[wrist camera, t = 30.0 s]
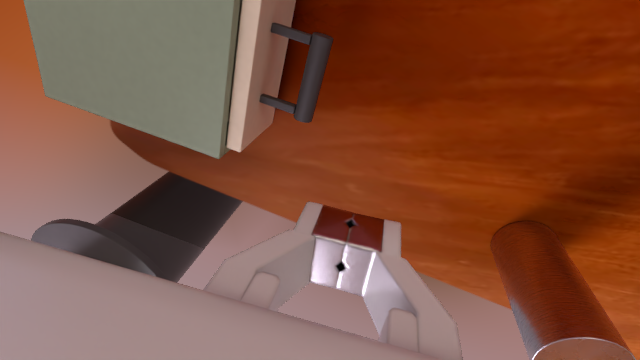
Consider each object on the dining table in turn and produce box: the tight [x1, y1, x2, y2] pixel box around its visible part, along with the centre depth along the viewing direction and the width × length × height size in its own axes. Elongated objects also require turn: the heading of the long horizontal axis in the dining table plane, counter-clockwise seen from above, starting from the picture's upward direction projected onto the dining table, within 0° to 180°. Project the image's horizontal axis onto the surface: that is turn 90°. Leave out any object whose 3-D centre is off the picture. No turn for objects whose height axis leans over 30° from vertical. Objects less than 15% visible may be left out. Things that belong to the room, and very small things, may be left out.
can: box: [491, 221, 636, 360], centre depth 25 cm, size 6×6×12 cm
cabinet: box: [24, 0, 240, 159], centre depth 24 cm, size 15×14×9 cm
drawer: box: [226, 0, 333, 152], centre depth 23 cm, size 18×12×7 cm
